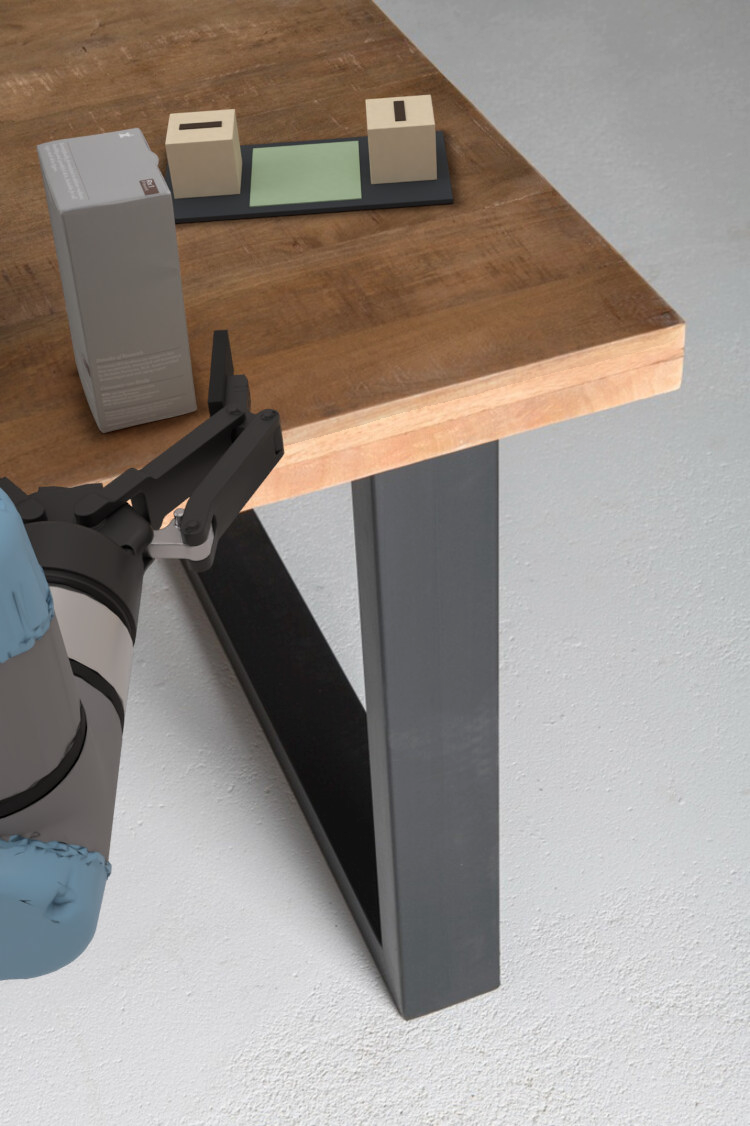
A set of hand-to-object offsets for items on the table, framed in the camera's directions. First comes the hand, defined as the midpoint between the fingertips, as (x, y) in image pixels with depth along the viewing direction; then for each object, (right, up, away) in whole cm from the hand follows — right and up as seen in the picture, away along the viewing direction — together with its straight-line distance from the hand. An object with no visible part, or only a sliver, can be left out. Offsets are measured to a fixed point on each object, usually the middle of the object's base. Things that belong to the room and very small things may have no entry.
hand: (101, 358), depth 78 cm
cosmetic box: (0, 0, +13) cm, 13 cm away
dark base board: (+10, +19, +32) cm, 38 cm away
